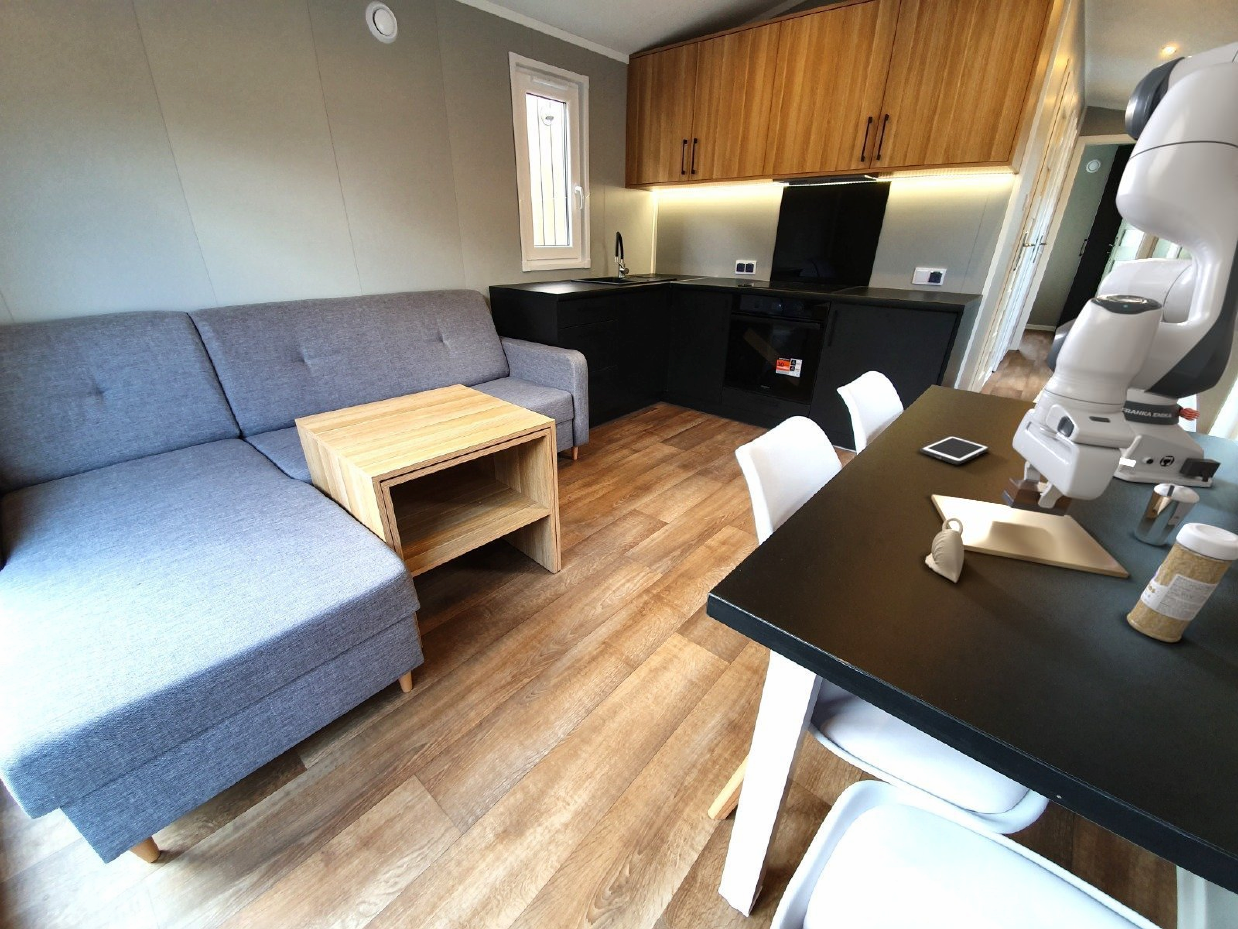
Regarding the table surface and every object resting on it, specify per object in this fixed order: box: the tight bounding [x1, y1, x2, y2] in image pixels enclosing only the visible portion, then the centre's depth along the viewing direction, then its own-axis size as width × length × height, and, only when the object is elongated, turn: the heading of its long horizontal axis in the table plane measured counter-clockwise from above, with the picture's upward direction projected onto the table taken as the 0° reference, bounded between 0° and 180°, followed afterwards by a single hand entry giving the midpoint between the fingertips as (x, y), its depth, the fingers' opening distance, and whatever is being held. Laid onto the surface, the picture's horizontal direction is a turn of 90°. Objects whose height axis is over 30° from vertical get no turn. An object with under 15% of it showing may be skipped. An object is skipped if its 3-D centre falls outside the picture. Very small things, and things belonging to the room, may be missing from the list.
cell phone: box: [920, 435, 989, 466], centre depth 104 cm, size 8×15×1 cm, turn 125°
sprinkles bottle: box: [1126, 522, 1238, 643], centre depth 54 cm, size 5×5×13 cm
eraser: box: [1000, 477, 1074, 517], centre depth 77 cm, size 7×4×4 cm, turn 72°
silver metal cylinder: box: [1134, 483, 1200, 547], centre depth 73 cm, size 4×5×10 cm
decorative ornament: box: [924, 517, 965, 584], centre depth 66 cm, size 4×8×5 cm, turn 139°
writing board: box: [930, 494, 1130, 579], centre depth 75 cm, size 20×16×1 cm
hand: (1035, 497), depth 77 cm, fingers closed on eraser, 4 cm apart
